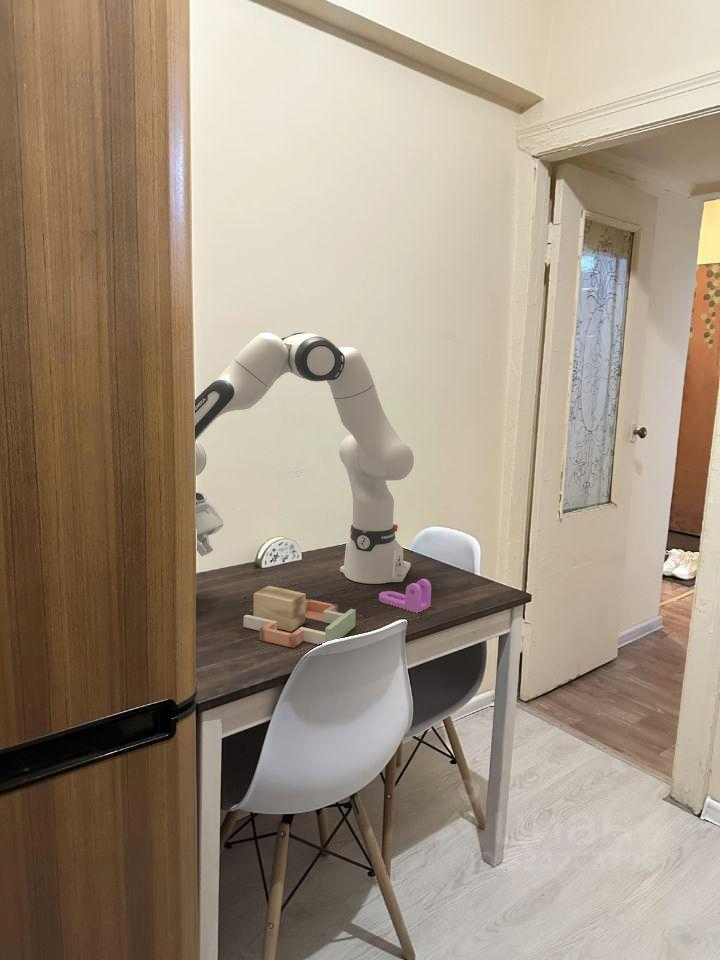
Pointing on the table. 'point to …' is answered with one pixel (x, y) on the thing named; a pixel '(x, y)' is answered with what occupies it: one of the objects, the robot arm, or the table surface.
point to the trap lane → (314, 611)
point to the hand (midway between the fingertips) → (207, 553)
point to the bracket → (410, 597)
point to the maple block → (280, 607)
